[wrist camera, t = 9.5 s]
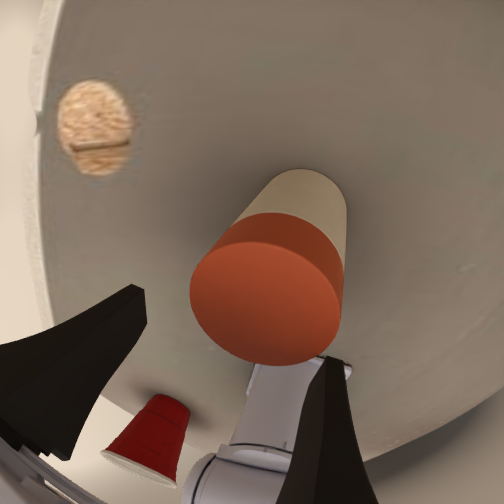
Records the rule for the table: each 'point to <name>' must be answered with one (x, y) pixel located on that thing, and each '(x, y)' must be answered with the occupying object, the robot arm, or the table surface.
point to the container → (277, 273)
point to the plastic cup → (152, 441)
